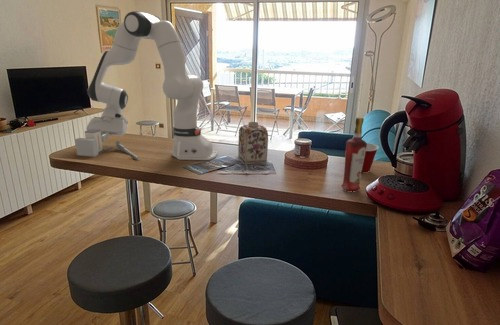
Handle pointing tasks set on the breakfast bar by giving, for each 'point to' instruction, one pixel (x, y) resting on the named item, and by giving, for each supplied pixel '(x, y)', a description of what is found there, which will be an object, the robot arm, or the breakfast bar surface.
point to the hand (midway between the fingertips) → (101, 140)
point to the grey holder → (88, 147)
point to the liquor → (354, 158)
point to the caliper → (125, 150)
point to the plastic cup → (369, 156)
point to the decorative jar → (253, 142)
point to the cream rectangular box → (95, 137)
